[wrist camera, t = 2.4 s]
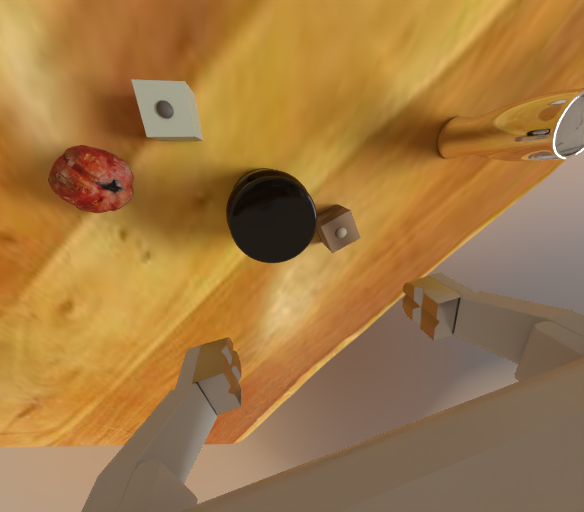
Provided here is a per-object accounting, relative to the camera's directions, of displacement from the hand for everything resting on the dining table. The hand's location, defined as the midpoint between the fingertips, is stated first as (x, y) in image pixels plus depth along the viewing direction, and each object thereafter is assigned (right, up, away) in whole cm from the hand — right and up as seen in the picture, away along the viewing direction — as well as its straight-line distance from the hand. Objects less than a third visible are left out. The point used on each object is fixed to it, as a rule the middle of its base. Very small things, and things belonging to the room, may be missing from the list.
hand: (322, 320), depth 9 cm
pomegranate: (-25, +13, +19) cm, 34 cm away
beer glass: (+26, +22, +27) cm, 43 cm away
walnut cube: (+5, +8, +28) cm, 30 cm away
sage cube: (-16, +20, +18) cm, 31 cm away
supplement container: (-6, +11, +25) cm, 28 cm away
